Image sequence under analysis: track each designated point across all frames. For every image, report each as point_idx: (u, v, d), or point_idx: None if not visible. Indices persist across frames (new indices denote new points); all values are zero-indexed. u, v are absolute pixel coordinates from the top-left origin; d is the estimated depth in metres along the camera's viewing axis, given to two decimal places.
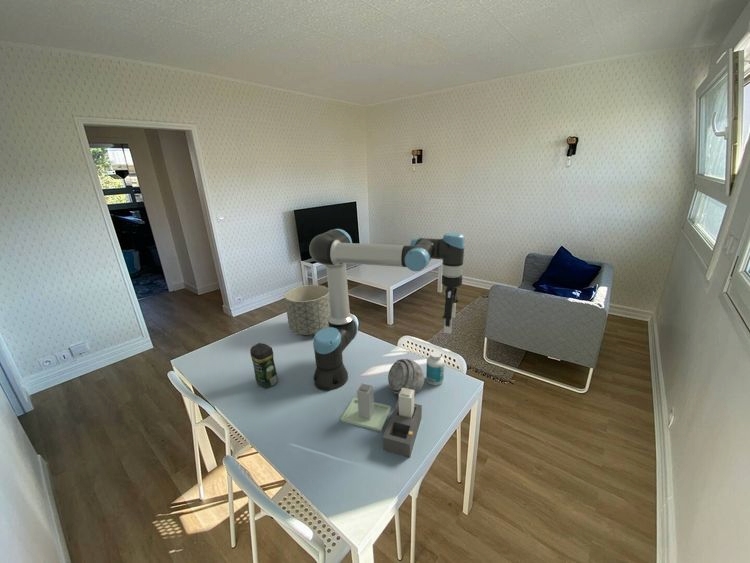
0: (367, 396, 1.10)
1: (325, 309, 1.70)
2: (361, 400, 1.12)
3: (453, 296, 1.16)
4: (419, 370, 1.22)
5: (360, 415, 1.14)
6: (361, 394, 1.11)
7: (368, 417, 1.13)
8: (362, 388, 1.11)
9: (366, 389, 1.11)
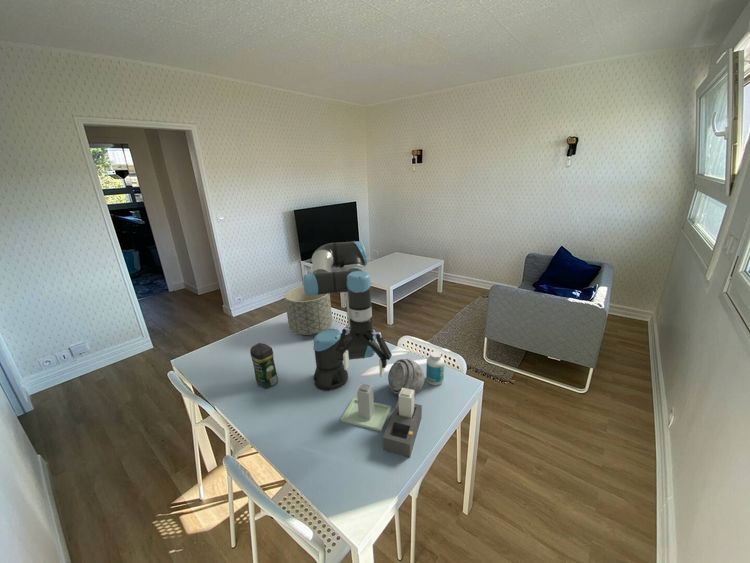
0: (367, 396, 1.10)
1: (325, 309, 1.70)
2: (361, 400, 1.12)
3: None
4: (419, 370, 1.22)
5: (360, 415, 1.14)
6: (361, 394, 1.11)
7: (368, 417, 1.13)
8: (362, 388, 1.11)
9: (366, 389, 1.11)
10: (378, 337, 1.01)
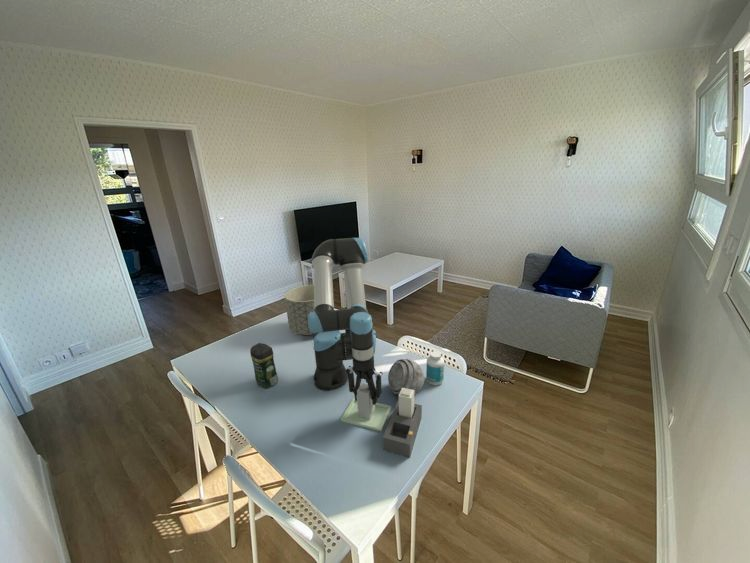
0: (367, 396, 1.10)
1: None
2: (361, 400, 1.12)
3: (359, 376, 1.10)
4: (419, 370, 1.22)
5: (360, 415, 1.14)
6: (361, 394, 1.11)
7: (368, 417, 1.13)
8: (362, 388, 1.11)
9: (366, 389, 1.11)
10: (378, 378, 1.07)
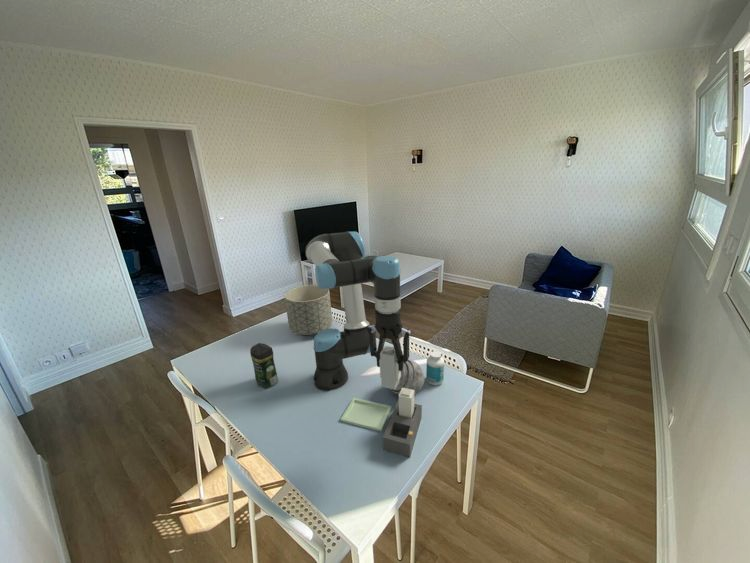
0: (393, 360, 0.92)
1: (325, 309, 1.70)
2: (384, 365, 0.94)
3: None
4: (419, 370, 1.22)
5: (383, 384, 0.96)
6: (385, 357, 0.93)
7: (393, 386, 0.95)
8: (386, 350, 0.93)
9: (391, 351, 0.93)
10: (407, 336, 0.89)
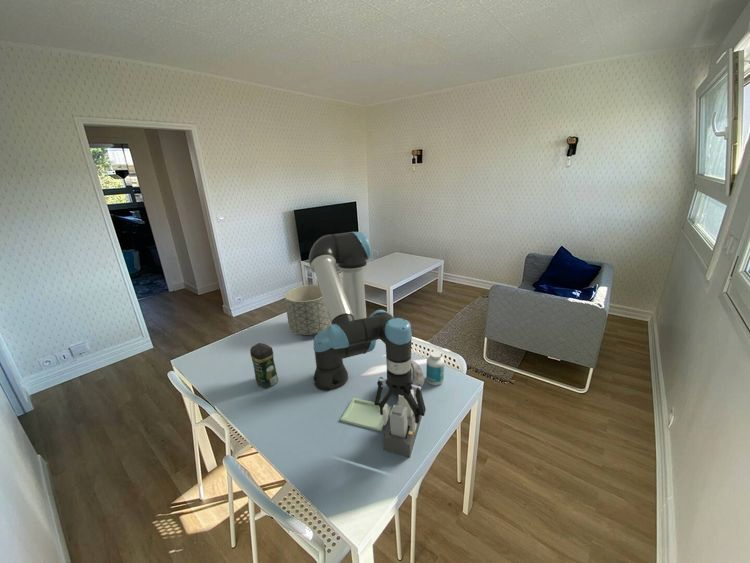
0: (402, 420, 0.97)
1: (325, 309, 1.70)
2: (394, 425, 0.99)
3: None
4: (419, 370, 1.22)
5: None
6: (395, 418, 0.98)
7: None
8: (395, 411, 0.98)
9: (400, 412, 0.98)
10: (418, 392, 0.92)
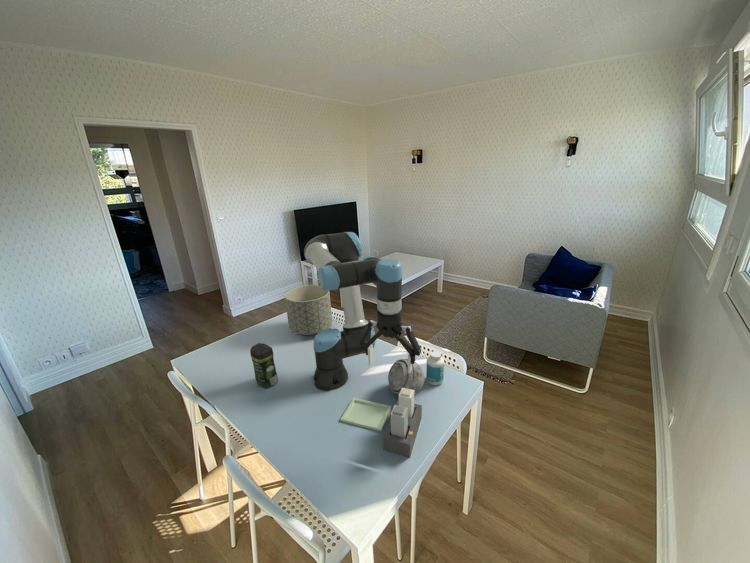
0: (403, 421, 0.97)
1: (325, 309, 1.70)
2: (394, 425, 0.99)
3: None
4: (419, 370, 1.22)
5: None
6: (395, 418, 0.98)
7: None
8: (396, 411, 0.98)
9: (401, 412, 0.97)
10: (408, 331, 0.93)
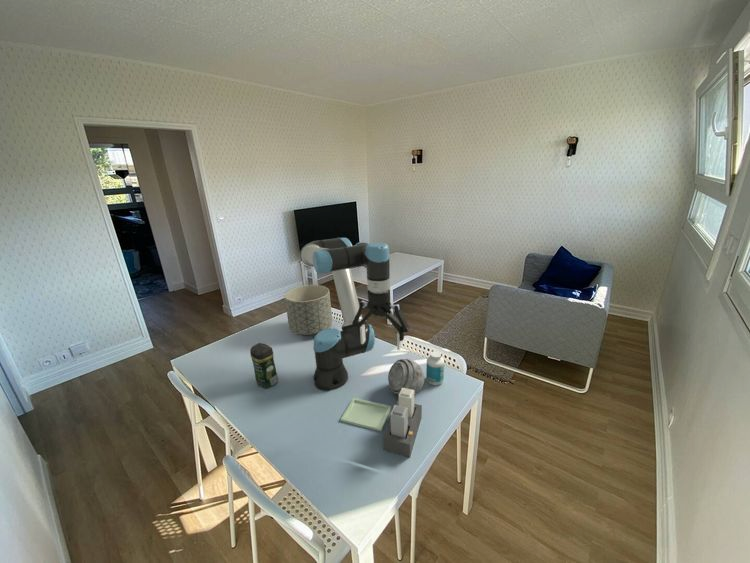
0: (403, 421, 0.97)
1: (325, 309, 1.70)
2: (394, 425, 0.99)
3: None
4: (419, 370, 1.22)
5: None
6: (395, 418, 0.98)
7: None
8: (396, 411, 0.98)
9: (401, 412, 0.97)
10: (396, 309, 1.01)
